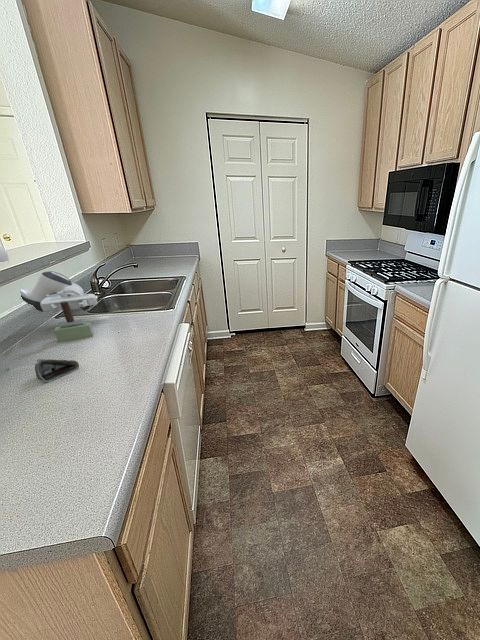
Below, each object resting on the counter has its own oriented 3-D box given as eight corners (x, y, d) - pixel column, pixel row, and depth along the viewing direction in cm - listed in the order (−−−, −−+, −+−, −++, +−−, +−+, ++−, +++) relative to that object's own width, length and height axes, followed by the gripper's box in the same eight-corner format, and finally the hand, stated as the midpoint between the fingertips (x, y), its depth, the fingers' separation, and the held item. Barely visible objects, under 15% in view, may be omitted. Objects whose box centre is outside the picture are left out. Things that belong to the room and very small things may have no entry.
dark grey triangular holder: (70, 363, 117) (32, 350, 108) (81, 362, 114) (42, 348, 104) (60, 389, 114) (19, 378, 105) (70, 389, 110) (29, 377, 101)
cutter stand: (59, 344, 132) (53, 330, 129) (60, 340, 136) (55, 326, 133) (93, 338, 137) (89, 325, 134) (93, 334, 141) (89, 321, 138)
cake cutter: (64, 340, 133) (51, 304, 126) (65, 338, 135) (52, 302, 128) (87, 336, 136) (75, 301, 130) (87, 334, 138) (75, 299, 132)
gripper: (100, 302, 153) (99, 310, 142) (46, 309, 144) (42, 318, 133) (95, 288, 150) (95, 296, 139) (41, 295, 141) (36, 303, 130)
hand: (68, 307), depth 136 cm, fingers open, 8 cm apart
